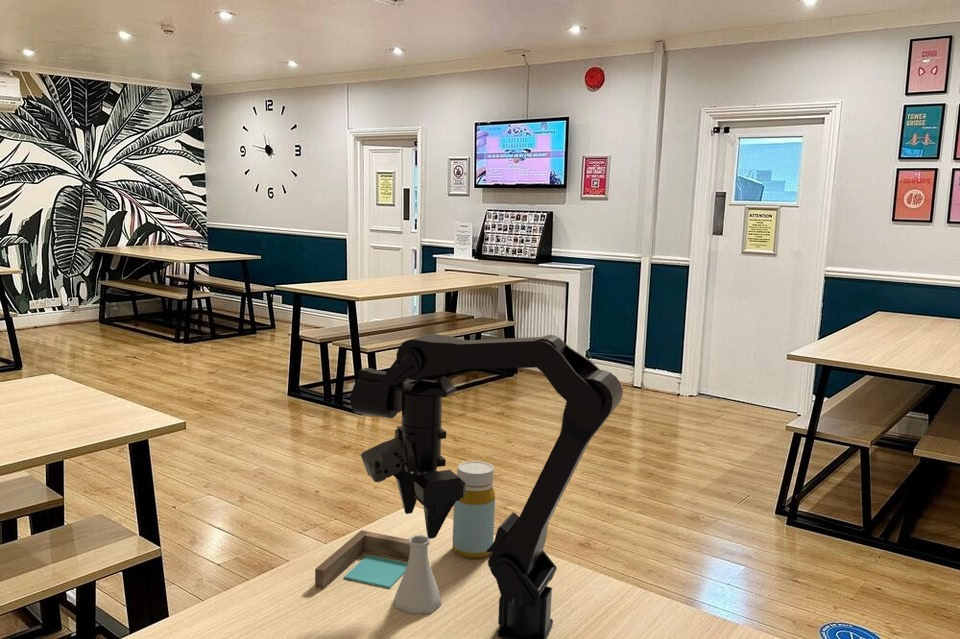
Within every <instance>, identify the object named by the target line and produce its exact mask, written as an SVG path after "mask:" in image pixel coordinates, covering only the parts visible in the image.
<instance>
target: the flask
mask: <svg viewBox="0 0 960 639" xmlns="http://www.w3.org/2000/svg"><path fill="white" fill-rule="evenodd" d="M408 539H409V546H410V555H409V560H408V562H407V563H408V564H407V567H406V569H405V572H404V574H403V575H402V578H401V581H400V583H399V586H398V588H397V590H396V593H395V595H394V597H393V598H394V609H396V610H400V611H401V612H402V611H403V612H405V613H408V614H411V615H413V614H414V615H415V614H431V613H433V612H434V611H435V610H436V609H438V608H439V607H440V606H441V605H442V602H441V601H442V600H441V593H440V591H439V587H438V585H437V582H436V579H435V577H434V573H433V571H432V567H431V565H430V560H429V554H428V549H429V545H430V542H431V541H430V539H429V538H428V536H426V535H424V534H420V535H419V534H417V535H416V534H413V535H412V536H410V537H409V538H408Z"/></svg>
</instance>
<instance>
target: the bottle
mask: <svg viewBox="0 0 960 639" xmlns="http://www.w3.org/2000/svg"><path fill="white" fill-rule="evenodd" d="M456 470H457V471H456V472H457V473H456V475H457V476H458V477H460V478H461V479H462V480H463V481H464V482H465V483H466V489H465V497H464V498H460V500H459V501H456V502H455V504H454V506H453V519H452V520H453V521H452V549H453V550H454V552H455V553H456V554H457V555H458V556H460V557H463V558H465V559H481V558H485V557H487V556H489V555H490V554H491V553H490V552H487V549H488V548H489V547H490V546H491V545H492V544H493V543H494V540H495V537H494V536H495V535H494V534H495V516H496V515H495V513H496V508H495V507H496V493H495V490H494V473H495V470H494V466H493V464H491V463H489V462H484V461H478V460H469V461H464V462H462V463H459V464H458V466H457V469H456Z"/></svg>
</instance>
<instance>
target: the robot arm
mask: <svg viewBox="0 0 960 639" xmlns="http://www.w3.org/2000/svg"><path fill="white" fill-rule="evenodd" d="M526 368H527V369H529V368H530V369H533V368H534V369H535V368H537V369H538V370H539V371H540V372H542V374H543V375H544V376H545V378H546V379H547V380H548V382H549V384H550V385H551V386H552V388H553V389H554V391H555V392H556V393H557V394H559V396H561V397H562V398H563V400H565V401H566V403H565V406H564V410H563V413H562V418H561V429H560V432H559V434H558V437H557V439H556V441H555V443H554V446H553V447H552V450H551V452H550V454H549V455H548V458H547V460H546V462H545V464H544V466H543V468H542V470H541V472H540V474H539V475H538V478H537V480H536V482H535V484H534V486H533V488H532V490H531V492H530V494H529V496H528V498H527V500H526V503H525V505H524V507H523V509H522V511H521V513H520V515H518V514H516V512H514V511H512V512H511V513H510V514H509V515H508V517H507V518H506V519H505V520H504V521H503V522H502V523H501V524H500V526H498V528H497V531H496V533H495V535H494V536H495V537H494V540H493V544H492V545H491V546H490V547H489V548H488V549H487V552H490V553H489V555H488V556H489V557H488V559H487V566H488V568H489V571H490V573H491V574H492V576H493V577H494V579H495V580H496V584H497V588H498V590H499V591H498V592H499V594H500V597H499V600H498V620H497V625H499V626H500V627H499V629H498V631H497V636H498V637H499V638H503V639H547V638H548V636H549V633H550V631H551V629H552V626H553V624H554V620H553V619H552V618H551V611H552V610H551V609H552V594H553V593H552V592H553V588H552V587H550V586H548V584H549V583H550V582H551V581H552V580H553V578H554V576H555V574H556V571H557V569H558V568H557V565H555V563H554V562H553V561H552V559H551V558H550V557H549V556H548V555H547V553H546V552H545V551H544V548H545V544H546V541H547V540H546V539H547V535H548V527H549V523H550V520H551V518H552V516H553V514H554V512H555V510H556V508H557V507H558V505H559V502H560V501H561V499H562V496H563V495H564V493H565V491H566V489H567V486H568V485H569V483H570V481H571V479H572V477H573V475H574V473H575V471H576V469H577V467H578V465H579V463H580V461H581V459H582V457H583V455H584V453H585V451H586V449H587V447H588V445H589V443H590V441H591V440H592V439H593V437H595V435H596V433H598V431H599V430H600V428H601V427H602V426H603V425H604V423H606V421H607V420H608V418H609V417H610V416H611V414H612V413H613V412H614V411H615V409H616V408H617V407H618V405H619V404H620V402H621V401H622V398H623V394H624V390H623V387H622V384H621V382H620V380H619V379H618V378H617V376H616V375H614V374H613V373H611V371H608V370H604V369H603V370H602V369H600V368H599V367H598V366H597V365H595V363H593V362H592V361H591V360H590V359H589V358H587V357H586V356H584V355H583V354H581V353H580V352H577V351H576V350H575V349H573V348H572V347H570V346H569V345H568V344H567V343H566V342H564V341H563V340H562V339H561V337H558V336H557V335H553V334H547V335H544V336H540V337H539V336H537V337H535V336H534V337H517V338H516V337H515V338H514V337H513V338H512V337H511V338H493V339H491V338H490V339H489V338H487V339H469V340H468V339H462V338H458V337H455V336H451V335H446V334H438V333H426V334H423V335H419V336H417V337H414V338H410V339H407V340H405V341H403V342H402V343H401V344H400V345H399V347H398V348H397V351H396V359H395V360H394V362H393V363H392V364H391V366H390V367H389V369H387V371H384V370H377V369H375V368H373V367H371V368H369V367H364V368H362V369H359V370H358V378H357V379H356V381H355V382H354V385H353V387H352V390H351V393H350V397H349V402H350V408H351V409H352V412H354V413H355V414H359V415H364V416H365V415H366V416H370V417H371V416H373V417H376V418H377V417H379V418H385V419H393V418H395V417H396V416H397V415H398V413H401V425H400V426H396V429H394V430H395V431H394V438H391V439H390V440H386V441H383V442H381V443H378V444H377V445H375V446H372V447H371V448H369V449H367V450H365V451H363V452H361V454H360V457H361V459H362V462H363V465H364V468H365V471H366V473H367V475H368V476H369V477H370V478H371V479H372V481H373V482H374V483H381V482H383V481H385V480H386V479H388V478H390V477H394V478H395V480H396V484H397V487H398V491H399V494H400V499H401V502H402V503H401V504H402V507H403V510H404V513H405V514H406V515H409V514H413V512H414V509H415V507H416V504H417V501H418V502H419V503H420V504H421V505H422V506H423V512H424V513H423V514H424V521H425V529H426V535H427V537H428V538H429V540H430V539H435V538H437V535H439V534H438V533H439V532H440V530H441V528H442V526H443V525H444V523H445V521H446V519H447V517H448V515H449V513H450V512H451V510H452V509H453V508H454V504H455V502H456V501H459V500H460V498H464V497H465V489H466V483H465V482H464V481H463V480H462V479H461V478H460V477H458V476H457V473H455V472H453V471H452V470H451V469H446V470H438V468H440V467H441V468H442V467H446V464H447V463H446V461H447V459H446V458H445V457H443V456H442V454H441V453H442V440H443V439H447V431H446V430H444V429H443V428H442V419H443V418H442V416H443V415H442V411H443V410H442V409H443V407H442V405H443V398H447V397H449V396H451V395H453V394H454V393H456V392H457V391H458V390H457V387H456V386H455V385H454V384H452V383H451V382H450V381H449V380H448V378H447V377H446V376H442V377H440V378H438V379H437V380H429V378H432V377H438V376H441V375H444V374H445V375H446V374H449V373H451V372H452V373H453V372H456V371H461V370H490V369H491V370H494V369H495V370H496V369H526ZM408 380H412V381H415V383H411V382H410V383H409V382H406V381H408Z"/></svg>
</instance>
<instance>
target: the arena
mask: <svg viewBox="0 0 960 639" xmlns="http://www.w3.org/2000/svg"><path fill="white" fill-rule="evenodd" d="M364 553H369V554H372V555H379V556H383V557H387V558H388V557H389V558H393V559H398V560H403V561H408V560H409V555H410V546H409V538H404V537H398V536H393V535H388V534H383V533H378V532H372V531H367V530H360V531H358V532H357V533H356V534H355V535H354V536H353V537H351V538H350V539H349V540H348V541H347V542H345V543H344V544H343V545H342V546H340V548H338V549H337V550H336V551H335V552H333V554H331V555H330V556H328V557H327V558H326V559H325V560H324V561H323V562H322V563H321V564H319V565H318V566H317V567H315V569H314V570H315V571H314V577H315V578H314V588H318V589H322V590H324V589H326V588H327V587H328V586H329V585H331V583H332V582H333V581H335V580H336V579H337V578H338V577H340V575H341V574H343V572H344V571H346V569H348V568H349V566H351V565H352V564H354V562H355V561H356V560H358V559H359V558H360V557H361V556H362V555H363V554H364Z"/></svg>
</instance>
